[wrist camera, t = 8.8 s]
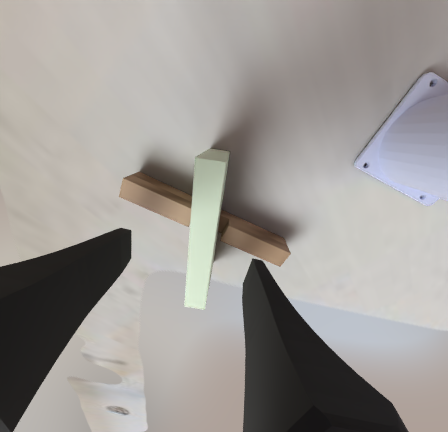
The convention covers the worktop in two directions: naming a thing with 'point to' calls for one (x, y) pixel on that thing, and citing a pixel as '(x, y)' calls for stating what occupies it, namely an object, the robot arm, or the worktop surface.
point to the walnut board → (181, 212)
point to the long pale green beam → (204, 223)
